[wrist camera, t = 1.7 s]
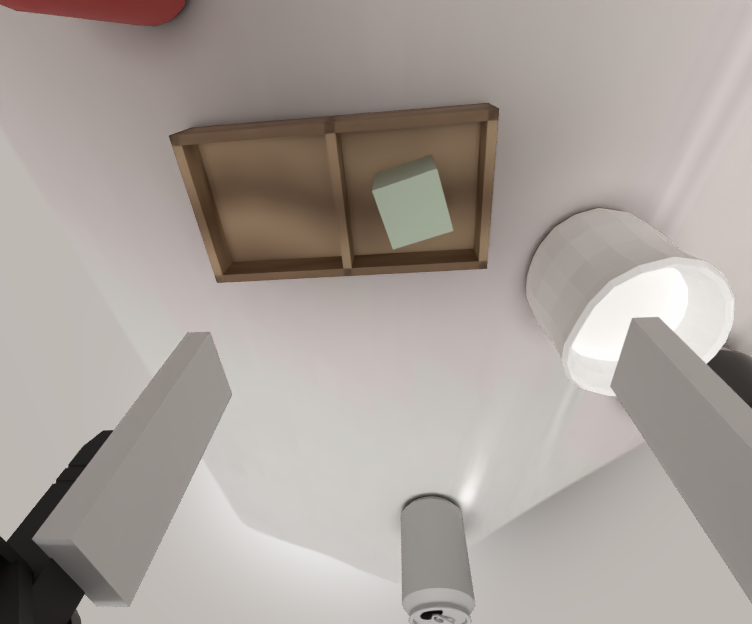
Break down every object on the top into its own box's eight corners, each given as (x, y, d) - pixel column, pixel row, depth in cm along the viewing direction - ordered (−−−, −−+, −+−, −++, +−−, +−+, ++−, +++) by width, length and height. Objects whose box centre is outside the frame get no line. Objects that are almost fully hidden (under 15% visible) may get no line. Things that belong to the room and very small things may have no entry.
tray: (191, 127, 27) (168, 135, 25) (488, 102, 26) (499, 108, 23) (231, 264, 33) (217, 282, 30) (478, 250, 31) (486, 268, 29)
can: (423, 484, 47) (431, 600, 37) (473, 505, 49) (494, 621, 39) (389, 514, 51) (388, 627, 41) (437, 532, 53) (447, 645, 43)
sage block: (374, 174, 27) (372, 190, 24) (431, 154, 27) (437, 168, 23) (393, 227, 29) (392, 249, 26) (446, 210, 29) (453, 230, 25)
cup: (531, 331, 35) (573, 416, 27) (507, 230, 30) (549, 295, 22) (649, 299, 33) (734, 380, 25) (644, 184, 28) (747, 237, 20)
